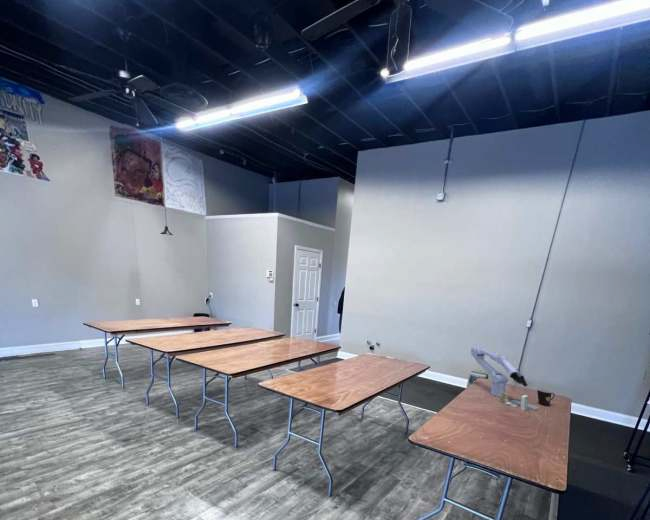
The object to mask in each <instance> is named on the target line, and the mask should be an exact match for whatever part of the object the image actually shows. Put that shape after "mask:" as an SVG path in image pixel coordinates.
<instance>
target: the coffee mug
mask: <svg viewBox="0 0 650 520" xmlns="http://www.w3.org/2000/svg"><path fill="white" fill-rule="evenodd" d="M536 391H537V399H538V404H539V405H541V406H543V407H550V405H551V401H552V400H553V399H554V398H555V396H556V395H555V393H554V392H552V391H551V390H548V389H545V388H537V389H536ZM552 394H553V395H552Z"/></svg>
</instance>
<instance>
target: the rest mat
mask: <svg viewBox="0 0 650 520" xmlns="http://www.w3.org/2000/svg"><path fill="white" fill-rule="evenodd" d="M509 402H511V403H514V404H517V405H518V406H521V400H518V399H515V398H514V399H512V400H510V401H509ZM528 409H531V410H533V411H537V410H538V409H540V406H537V405H534V404H532V403H528Z"/></svg>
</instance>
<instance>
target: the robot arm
mask: <svg viewBox="0 0 650 520" xmlns="http://www.w3.org/2000/svg"><path fill="white" fill-rule="evenodd" d="M470 355H471V356H472V357H473V358H474V360H475V361H476V363H477V364H478V365H479V366H481V367H482V369H484V370H485V371H486V372H487V373H488V374H490V379H491V380H492V382H491V385H490V395H493V396H496V397H499V398H500V392H504V393H506V387H507V386H506V385H507V383H508V382H509V378H511V379H513V380H514V381H515V382H517V383H518V384H519V385H520V384H521V385H523V386H524V387H527V386H528V383H527V382H526V379H525V376H524V375H521V374H520V370H517V369H516V368H515V367H514V366H513V364H511V362H510V361H509V359H508V357H507V356H505V355H501V354H499V353H496V352H495V351H491V352H490V351H488V350H487V349H485V348H482V347H472V348H471V349H470ZM485 356H488V357H489V358H490V359H491V360H492V361H495V362H496V363H497V364H498V365H500V366H502V368H503V369H504V370H505V371H506V372H507V373H508V374H509V377H508V376H507V375H505V374H504V373H502V372H499V371H497V370H496V369H495V368H494V367H493V366H492V365H490V363H488V362H487V361H486V360H485Z"/></svg>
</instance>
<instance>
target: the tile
mask: <svg viewBox="0 0 650 520" xmlns="http://www.w3.org/2000/svg"><path fill="white" fill-rule="evenodd" d="M520 401H521V405H520V410H521V411H523V412H525V411H527V410H529V408H528V404H529V395H527V394H524V395H522V396H521V397H520Z"/></svg>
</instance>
